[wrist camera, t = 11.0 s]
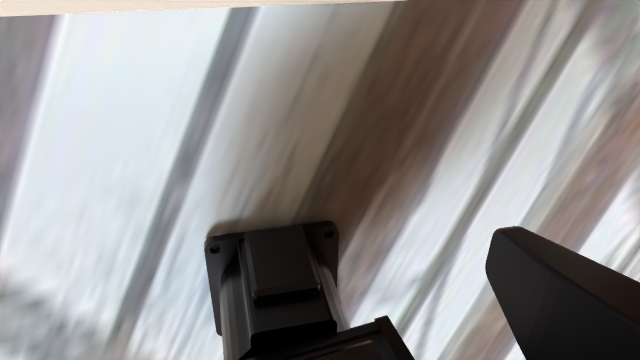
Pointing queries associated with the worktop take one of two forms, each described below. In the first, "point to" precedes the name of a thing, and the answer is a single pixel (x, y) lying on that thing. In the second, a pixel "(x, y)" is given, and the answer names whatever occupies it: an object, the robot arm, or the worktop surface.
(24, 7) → the tray
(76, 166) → the worktop surface
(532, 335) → the robot arm
